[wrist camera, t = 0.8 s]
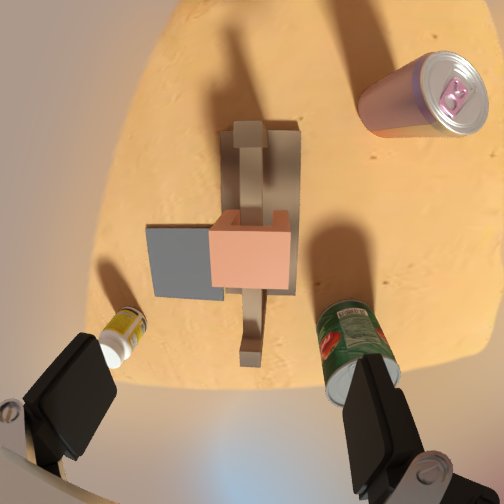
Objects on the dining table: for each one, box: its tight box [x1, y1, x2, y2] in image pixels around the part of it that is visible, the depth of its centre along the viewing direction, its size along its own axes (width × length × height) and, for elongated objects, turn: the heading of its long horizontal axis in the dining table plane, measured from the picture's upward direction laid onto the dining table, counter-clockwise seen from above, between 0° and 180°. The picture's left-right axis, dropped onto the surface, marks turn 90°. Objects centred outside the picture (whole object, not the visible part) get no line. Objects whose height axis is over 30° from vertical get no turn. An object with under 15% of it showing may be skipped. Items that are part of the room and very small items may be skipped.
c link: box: [209, 210, 291, 289], centre depth 22 cm, size 4×5×6 cm
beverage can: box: [358, 51, 489, 138], centre depth 19 cm, size 6×6×15 cm
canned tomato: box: [316, 299, 401, 408], centre depth 30 cm, size 8×8×11 cm
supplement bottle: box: [98, 307, 147, 368], centre depth 34 cm, size 5×5×8 cm
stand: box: [220, 121, 301, 368], centre depth 25 cm, size 18×8×14 cm, turn 0°
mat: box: [145, 227, 224, 301], centre depth 34 cm, size 9×9×1 cm
